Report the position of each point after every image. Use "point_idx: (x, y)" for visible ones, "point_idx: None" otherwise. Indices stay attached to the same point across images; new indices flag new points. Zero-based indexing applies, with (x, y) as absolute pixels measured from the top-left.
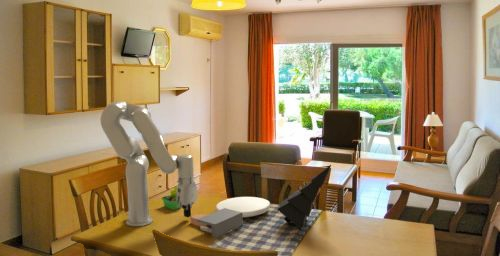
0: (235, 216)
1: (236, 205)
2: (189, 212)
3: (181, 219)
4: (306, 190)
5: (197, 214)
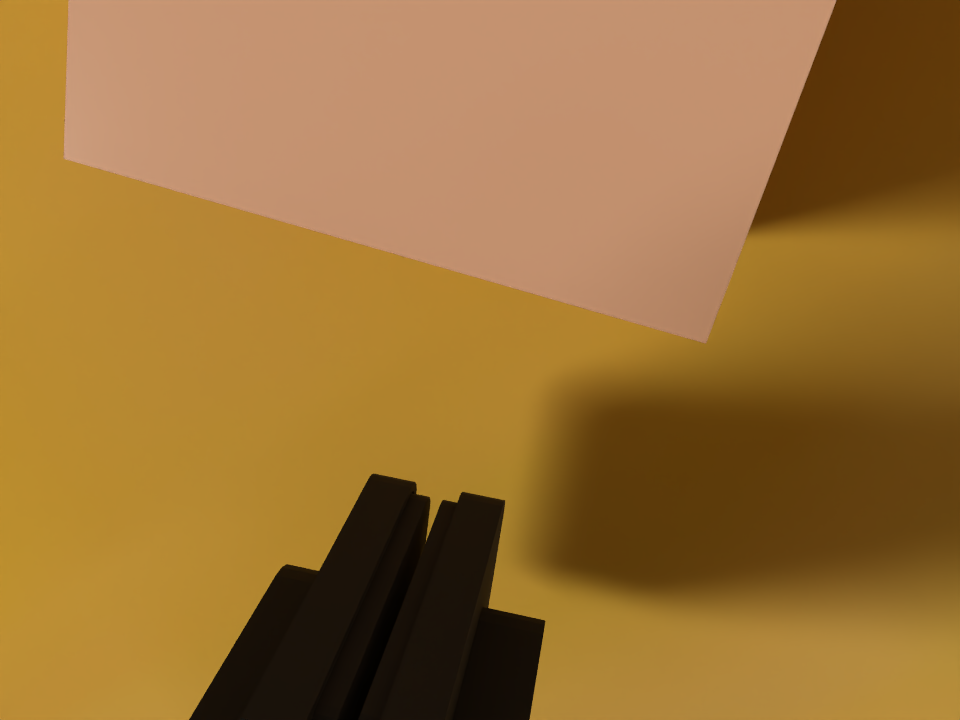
0: None
1: None
2: (383, 615)
3: None
4: None
5: (234, 198)
